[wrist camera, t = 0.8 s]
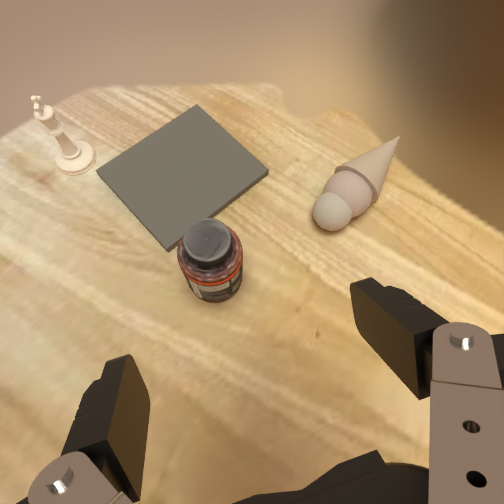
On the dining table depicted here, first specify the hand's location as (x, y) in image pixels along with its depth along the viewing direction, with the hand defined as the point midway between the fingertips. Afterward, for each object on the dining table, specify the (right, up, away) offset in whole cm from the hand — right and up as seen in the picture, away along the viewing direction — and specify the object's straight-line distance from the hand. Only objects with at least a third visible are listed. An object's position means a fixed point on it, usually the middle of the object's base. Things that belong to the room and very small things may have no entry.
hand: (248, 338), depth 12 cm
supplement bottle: (-4, 0, +27) cm, 27 cm away
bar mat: (-8, +13, +32) cm, 35 cm away
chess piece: (-22, +15, +32) cm, 42 cm away
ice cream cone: (+13, +10, +32) cm, 36 cm away
